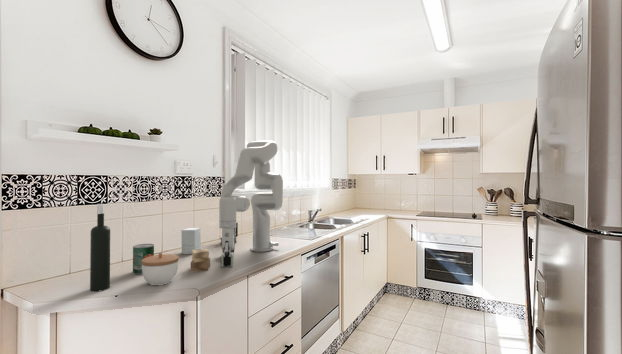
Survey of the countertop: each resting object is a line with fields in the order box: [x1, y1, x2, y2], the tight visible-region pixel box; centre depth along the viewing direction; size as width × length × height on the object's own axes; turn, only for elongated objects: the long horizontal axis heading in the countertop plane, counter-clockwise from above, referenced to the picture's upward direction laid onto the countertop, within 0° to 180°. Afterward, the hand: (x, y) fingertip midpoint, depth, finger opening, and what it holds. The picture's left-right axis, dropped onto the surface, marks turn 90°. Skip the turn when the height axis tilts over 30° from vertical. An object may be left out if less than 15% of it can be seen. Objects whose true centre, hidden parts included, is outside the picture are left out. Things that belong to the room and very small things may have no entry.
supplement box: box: [180, 227, 202, 255], centre depth 162 cm, size 7×7×13 cm
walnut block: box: [190, 257, 211, 272], centre depth 132 cm, size 7×7×4 cm
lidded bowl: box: [141, 252, 180, 286], centre depth 114 cm, size 13×13×11 cm
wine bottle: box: [89, 203, 111, 292], centre depth 108 cm, size 6×6×30 cm
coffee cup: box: [219, 236, 237, 254], centre depth 155 cm, size 8×8×10 cm
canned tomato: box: [132, 243, 155, 275], centre depth 128 cm, size 8×8×11 cm
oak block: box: [191, 248, 210, 262], centre depth 132 cm, size 6×6×4 cm
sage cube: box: [220, 252, 235, 268], centre depth 138 cm, size 5×5×5 cm
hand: (227, 263), depth 138 cm, fingers open, 5 cm apart
